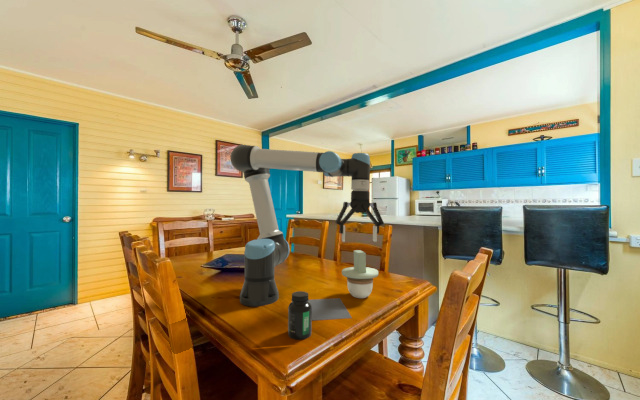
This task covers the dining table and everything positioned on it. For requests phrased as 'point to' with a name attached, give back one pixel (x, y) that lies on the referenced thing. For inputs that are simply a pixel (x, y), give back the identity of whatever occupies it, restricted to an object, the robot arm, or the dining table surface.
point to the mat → (328, 309)
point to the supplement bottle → (299, 316)
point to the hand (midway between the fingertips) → (359, 241)
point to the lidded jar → (360, 287)
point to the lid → (359, 268)
